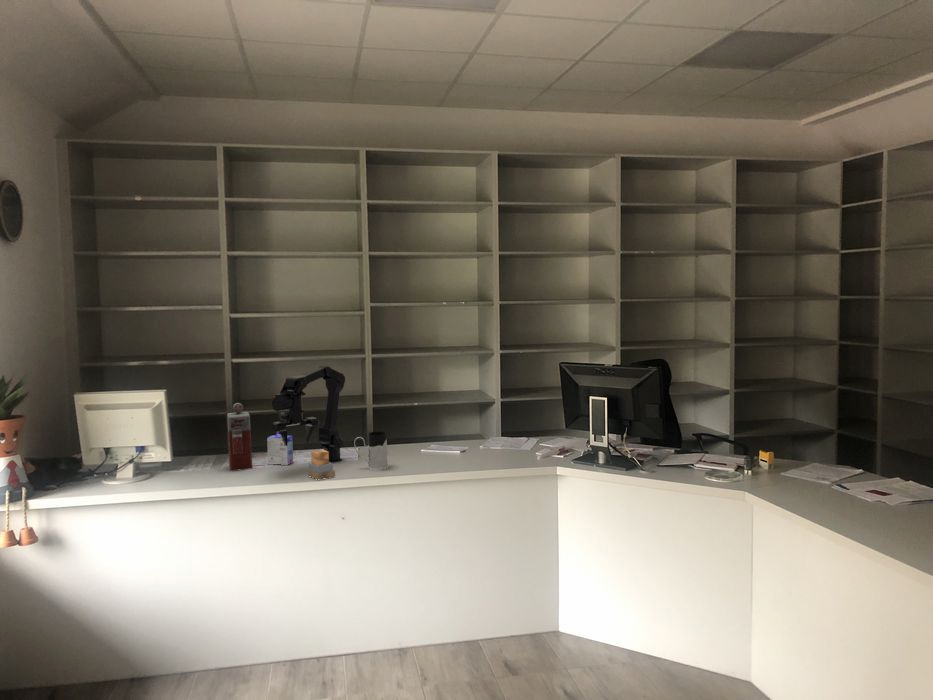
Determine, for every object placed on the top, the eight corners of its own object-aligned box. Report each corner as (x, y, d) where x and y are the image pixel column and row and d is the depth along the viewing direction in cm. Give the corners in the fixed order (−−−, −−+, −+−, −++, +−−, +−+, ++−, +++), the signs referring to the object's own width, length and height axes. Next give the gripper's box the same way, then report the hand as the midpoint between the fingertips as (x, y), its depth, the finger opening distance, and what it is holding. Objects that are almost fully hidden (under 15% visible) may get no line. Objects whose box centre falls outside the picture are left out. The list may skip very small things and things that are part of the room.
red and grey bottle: (230, 471, 284) (227, 406, 281) (229, 465, 294) (226, 402, 291) (252, 469, 287) (249, 404, 284) (250, 463, 297) (247, 400, 295)
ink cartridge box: (294, 462, 298) (292, 430, 297) (288, 465, 293) (287, 433, 291) (273, 461, 300) (272, 429, 299) (267, 464, 295) (266, 432, 293)
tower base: (326, 473, 280) (326, 466, 280) (335, 478, 274) (334, 470, 274) (308, 477, 276) (308, 470, 275) (317, 481, 269) (316, 474, 269)
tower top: (324, 467, 279) (324, 460, 279) (332, 470, 274) (332, 463, 274) (309, 470, 275) (308, 463, 275) (317, 474, 270) (317, 466, 269)
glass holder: (389, 469, 284) (388, 435, 282) (354, 471, 281) (353, 436, 280) (387, 464, 292) (387, 430, 291) (354, 466, 290) (353, 432, 288)
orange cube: (322, 461, 277) (321, 449, 277) (328, 463, 274) (328, 451, 274) (311, 463, 274) (311, 451, 274) (318, 465, 270) (317, 453, 270)
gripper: (307, 402, 292) (309, 437, 293) (266, 407, 280) (267, 444, 282) (319, 405, 283) (320, 441, 284) (276, 411, 271) (278, 448, 273)
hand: (296, 444), depth 281 cm, fingers open, 9 cm apart
